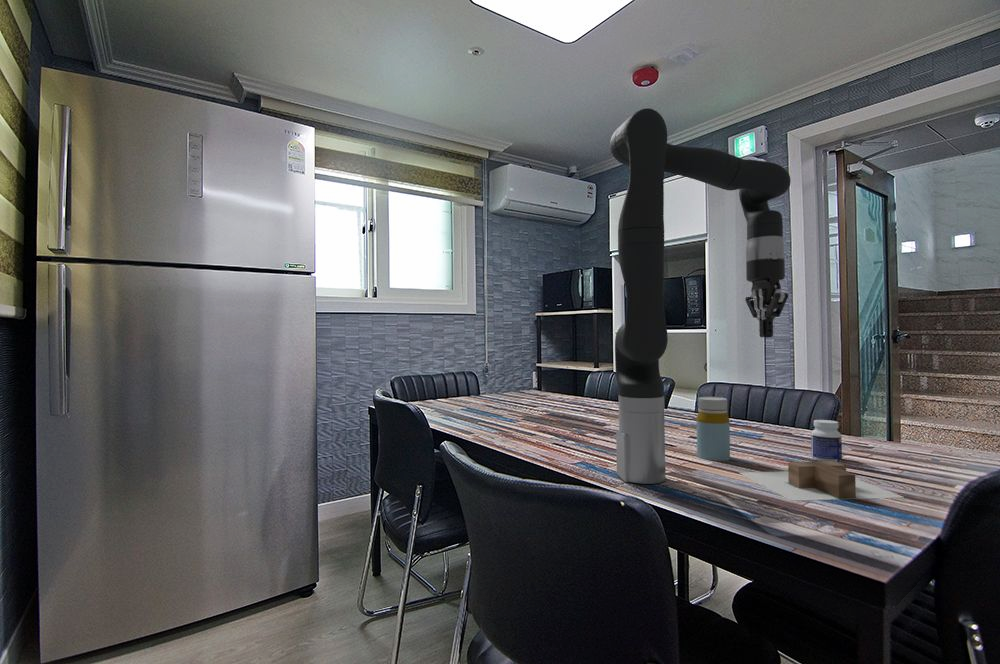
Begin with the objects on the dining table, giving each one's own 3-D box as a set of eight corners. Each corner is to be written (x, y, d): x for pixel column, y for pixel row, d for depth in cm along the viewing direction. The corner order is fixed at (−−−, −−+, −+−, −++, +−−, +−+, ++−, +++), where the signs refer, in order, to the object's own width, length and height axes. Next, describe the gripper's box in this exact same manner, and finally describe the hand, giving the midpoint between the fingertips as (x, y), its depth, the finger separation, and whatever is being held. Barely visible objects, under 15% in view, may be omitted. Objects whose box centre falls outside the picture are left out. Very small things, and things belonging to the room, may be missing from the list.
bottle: (730, 461, 116) (729, 397, 116) (730, 468, 109) (729, 400, 109) (698, 458, 118) (697, 395, 119) (696, 465, 112) (695, 399, 112)
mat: (791, 509, 84) (791, 500, 84) (738, 479, 101) (738, 472, 101) (904, 506, 85) (904, 497, 85) (833, 477, 102) (833, 470, 102)
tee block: (821, 499, 84) (821, 475, 84) (788, 483, 93) (788, 462, 93) (872, 497, 85) (872, 474, 85) (834, 482, 94) (834, 461, 94)
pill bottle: (847, 469, 107) (846, 423, 108) (818, 468, 109) (817, 423, 109) (834, 462, 113) (834, 419, 113) (807, 461, 114) (806, 418, 114)
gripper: (733, 263, 116) (734, 337, 116) (765, 254, 103) (767, 337, 103) (764, 263, 116) (765, 336, 116) (800, 254, 103) (802, 337, 103)
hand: (766, 337), depth 109 cm, fingers closed
